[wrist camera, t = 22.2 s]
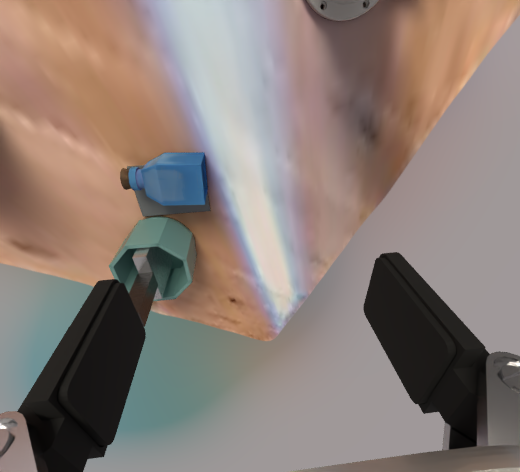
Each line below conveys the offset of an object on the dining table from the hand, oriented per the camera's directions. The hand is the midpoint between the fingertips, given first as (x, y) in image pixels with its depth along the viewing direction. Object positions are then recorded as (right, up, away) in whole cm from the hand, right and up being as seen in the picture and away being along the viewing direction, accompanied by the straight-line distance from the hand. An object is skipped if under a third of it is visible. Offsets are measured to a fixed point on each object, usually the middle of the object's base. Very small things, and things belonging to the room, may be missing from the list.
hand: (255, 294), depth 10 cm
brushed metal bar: (-19, +1, +40) cm, 44 cm away
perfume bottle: (-8, +11, +31) cm, 34 cm away
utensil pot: (-19, +1, +41) cm, 45 cm away
